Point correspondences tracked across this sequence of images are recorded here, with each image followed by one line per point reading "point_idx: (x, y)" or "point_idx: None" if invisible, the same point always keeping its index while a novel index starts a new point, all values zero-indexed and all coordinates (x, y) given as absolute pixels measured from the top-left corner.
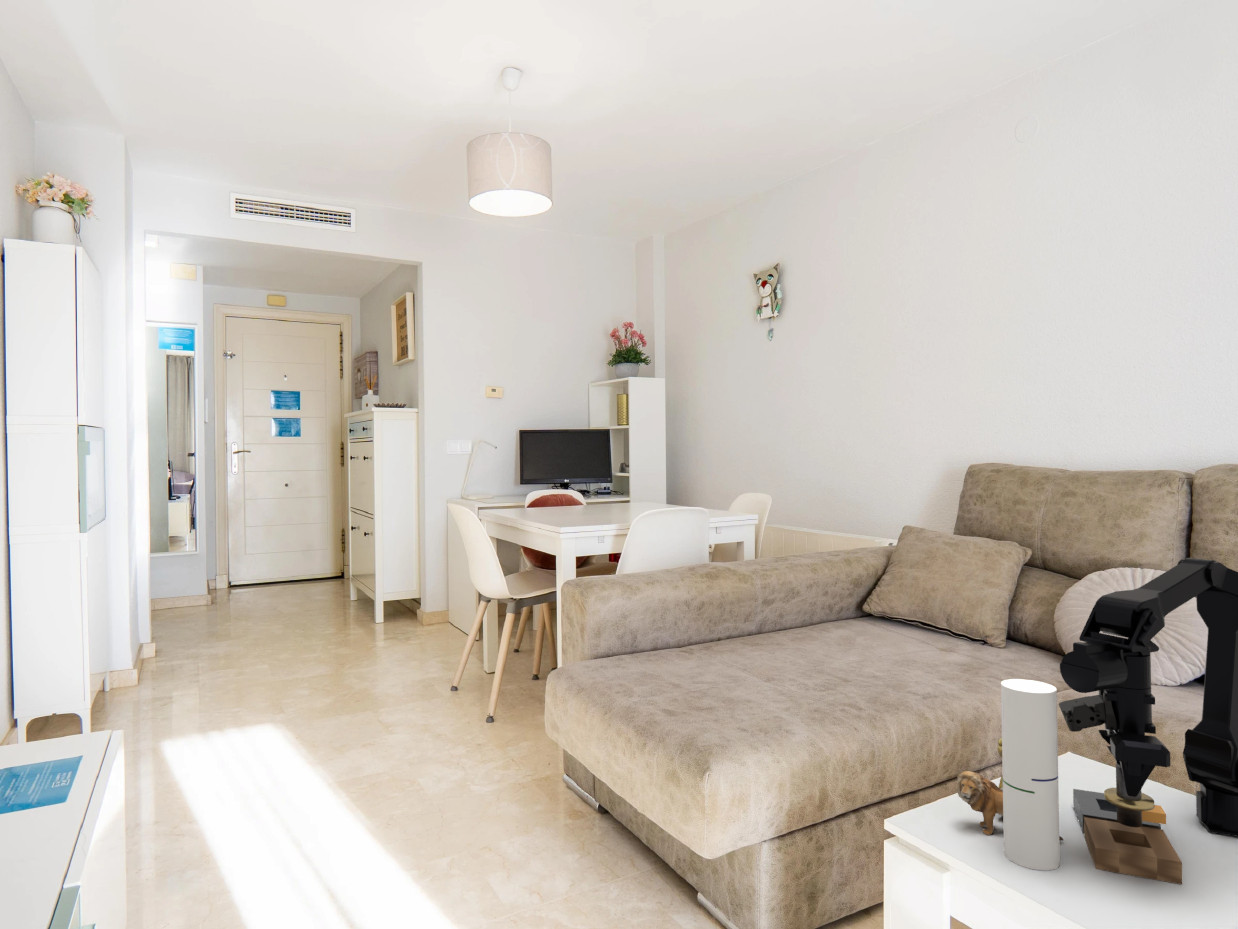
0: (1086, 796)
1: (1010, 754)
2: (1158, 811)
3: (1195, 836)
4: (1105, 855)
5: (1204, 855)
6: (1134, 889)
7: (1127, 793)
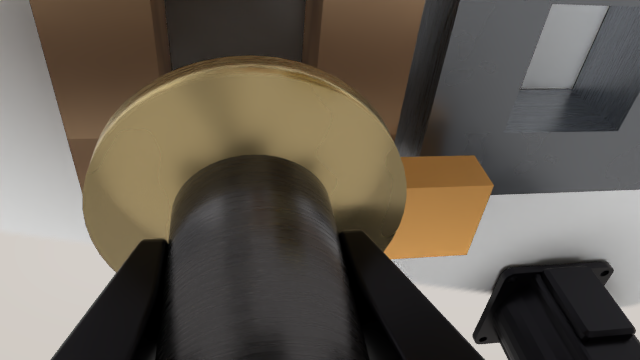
0: None
1: None
2: (402, 242)
3: (481, 237)
4: None
5: None
6: None
7: (137, 249)
